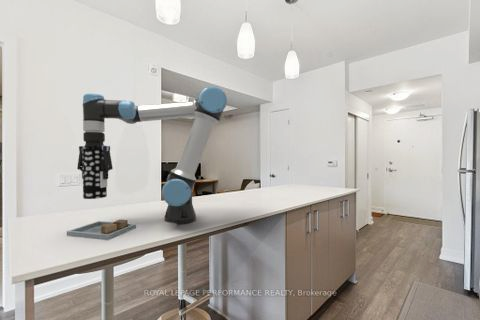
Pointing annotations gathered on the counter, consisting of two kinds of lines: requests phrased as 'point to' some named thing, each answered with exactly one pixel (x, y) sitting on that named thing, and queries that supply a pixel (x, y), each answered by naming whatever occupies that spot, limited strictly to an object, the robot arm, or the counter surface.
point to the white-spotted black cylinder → (92, 174)
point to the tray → (98, 231)
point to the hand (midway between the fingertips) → (95, 186)
